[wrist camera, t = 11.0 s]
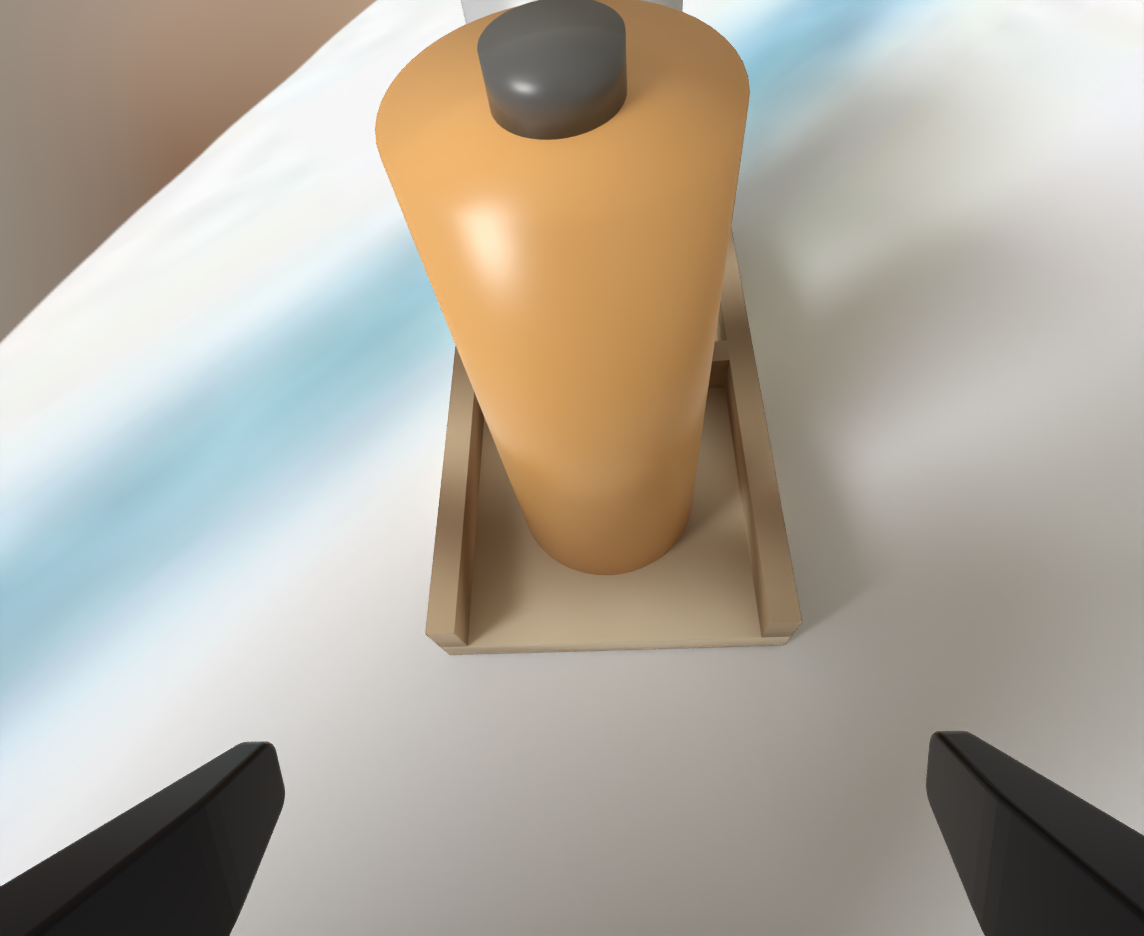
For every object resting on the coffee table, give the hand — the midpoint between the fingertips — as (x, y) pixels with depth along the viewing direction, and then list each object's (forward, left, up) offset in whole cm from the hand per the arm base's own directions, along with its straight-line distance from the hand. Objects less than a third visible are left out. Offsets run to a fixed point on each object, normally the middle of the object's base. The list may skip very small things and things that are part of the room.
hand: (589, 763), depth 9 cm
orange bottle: (+5, +7, -9) cm, 12 cm away
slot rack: (+8, +10, -10) cm, 16 cm away
